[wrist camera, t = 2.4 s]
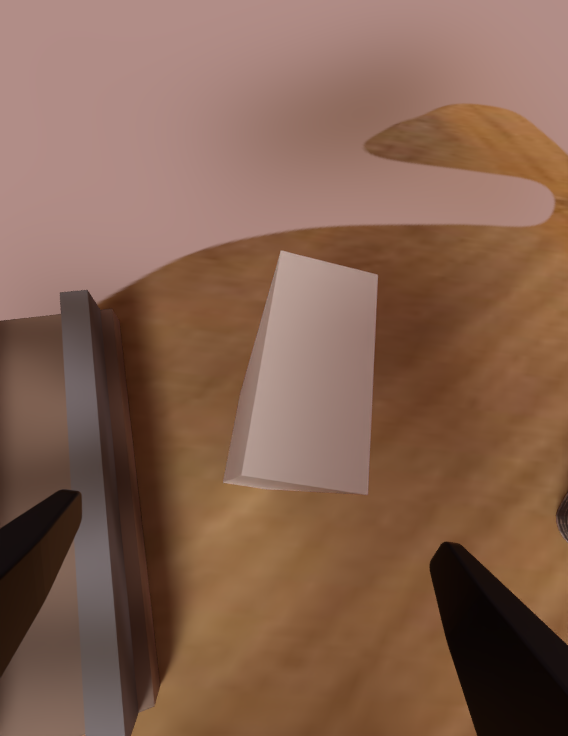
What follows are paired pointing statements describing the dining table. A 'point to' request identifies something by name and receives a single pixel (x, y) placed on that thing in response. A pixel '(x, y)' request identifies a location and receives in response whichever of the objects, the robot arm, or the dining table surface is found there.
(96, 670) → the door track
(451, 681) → the dining table surface
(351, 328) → the door panel
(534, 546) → the dining table surface
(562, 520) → the lighter
